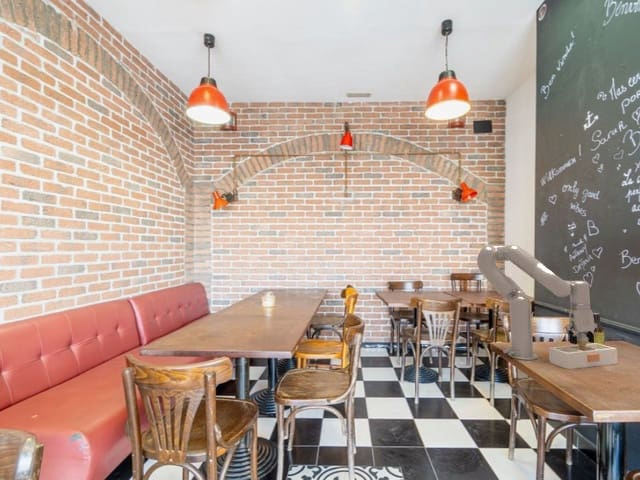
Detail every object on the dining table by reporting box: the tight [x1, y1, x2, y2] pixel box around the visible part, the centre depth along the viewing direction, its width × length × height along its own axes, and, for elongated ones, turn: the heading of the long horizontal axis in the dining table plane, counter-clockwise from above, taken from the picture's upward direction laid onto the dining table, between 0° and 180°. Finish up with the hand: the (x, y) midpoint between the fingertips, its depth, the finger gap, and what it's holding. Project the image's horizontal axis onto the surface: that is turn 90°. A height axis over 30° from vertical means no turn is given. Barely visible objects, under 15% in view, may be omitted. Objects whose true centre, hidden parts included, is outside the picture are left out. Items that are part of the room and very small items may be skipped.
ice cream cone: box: [575, 332, 589, 351], centre depth 164 cm, size 6×6×15 cm
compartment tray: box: [548, 343, 619, 370], centre depth 163 cm, size 28×11×7 cm, turn 101°
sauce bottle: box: [589, 312, 606, 346], centre depth 180 cm, size 7×6×20 cm
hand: (582, 343), depth 164 cm, fingers open, 9 cm apart
